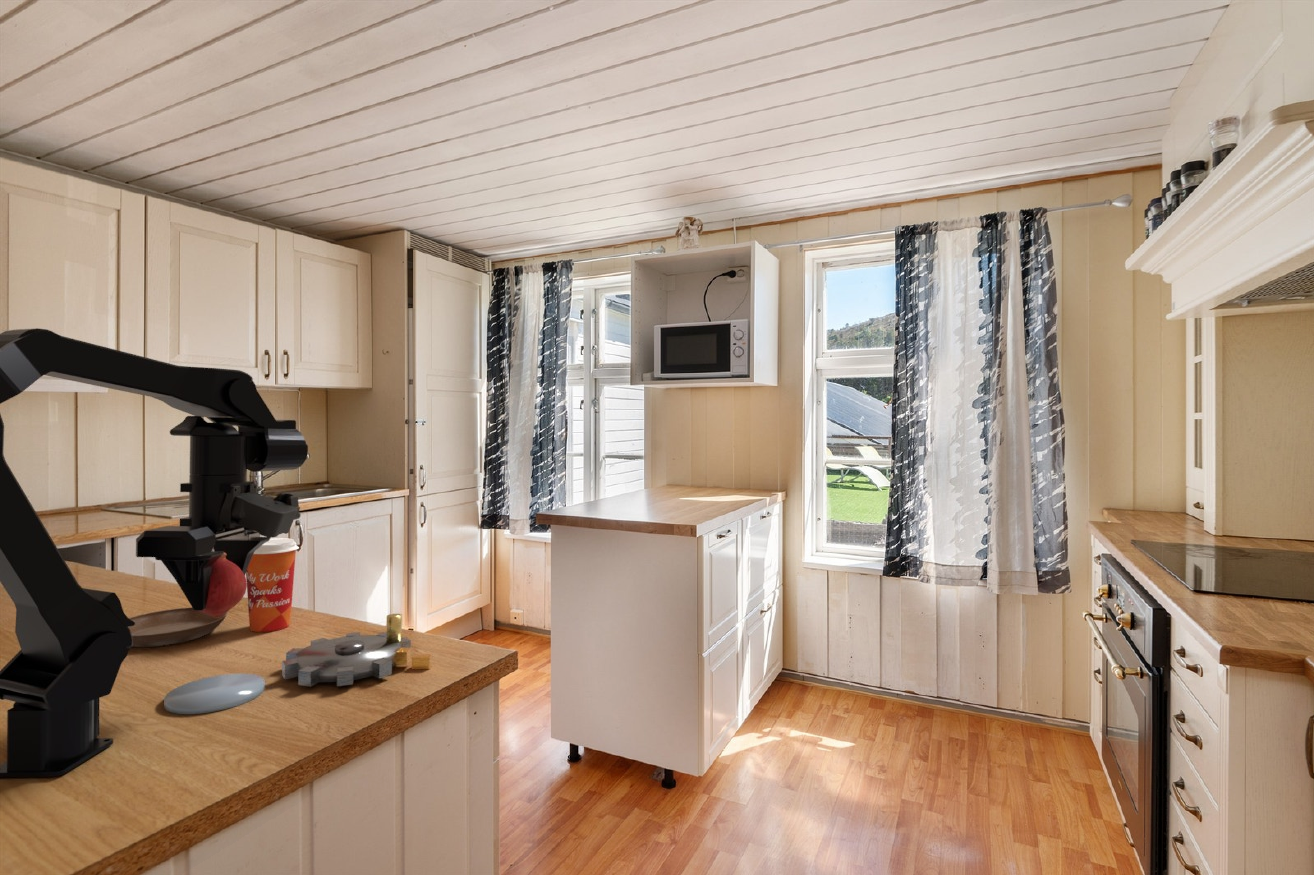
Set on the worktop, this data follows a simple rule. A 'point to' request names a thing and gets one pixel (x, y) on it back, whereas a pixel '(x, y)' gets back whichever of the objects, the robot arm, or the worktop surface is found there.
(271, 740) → the worktop surface
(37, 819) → the worktop surface
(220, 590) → the onion
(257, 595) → the paper cup
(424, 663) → the wooden toy brick
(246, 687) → the coaster
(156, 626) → the saucer
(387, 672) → the sprocket
